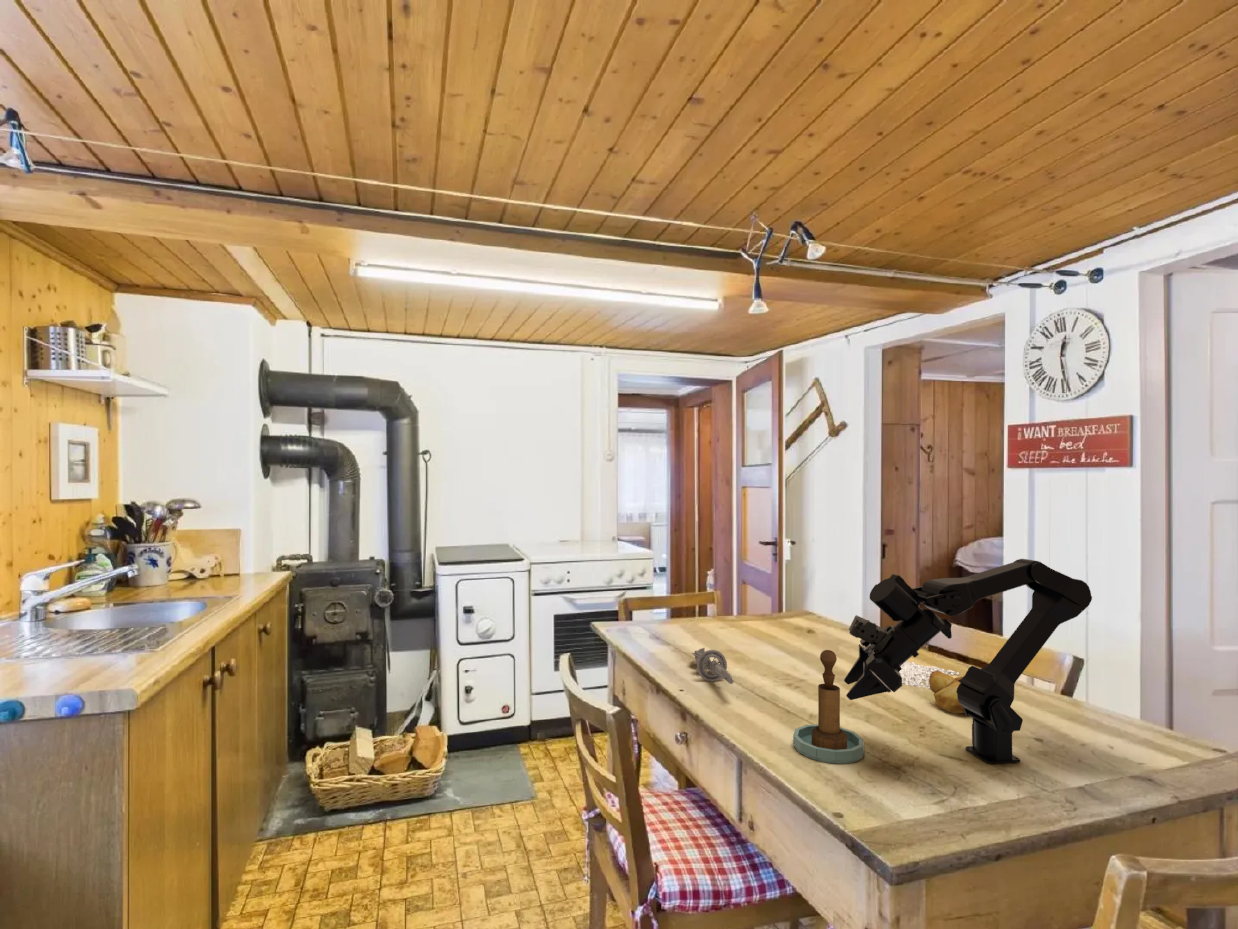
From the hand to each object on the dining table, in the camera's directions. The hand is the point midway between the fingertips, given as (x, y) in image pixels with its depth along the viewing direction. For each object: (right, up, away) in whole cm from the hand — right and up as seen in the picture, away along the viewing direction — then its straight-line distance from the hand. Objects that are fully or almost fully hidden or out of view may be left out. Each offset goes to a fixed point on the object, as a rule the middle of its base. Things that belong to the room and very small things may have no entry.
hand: (846, 690), depth 118 cm
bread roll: (+34, -13, +22) cm, 43 cm away
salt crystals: (+35, -14, +47) cm, 60 cm away
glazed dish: (-3, -11, +1) cm, 12 cm away
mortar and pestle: (-3, -11, +1) cm, 12 cm away
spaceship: (-20, -13, +41) cm, 47 cm away
